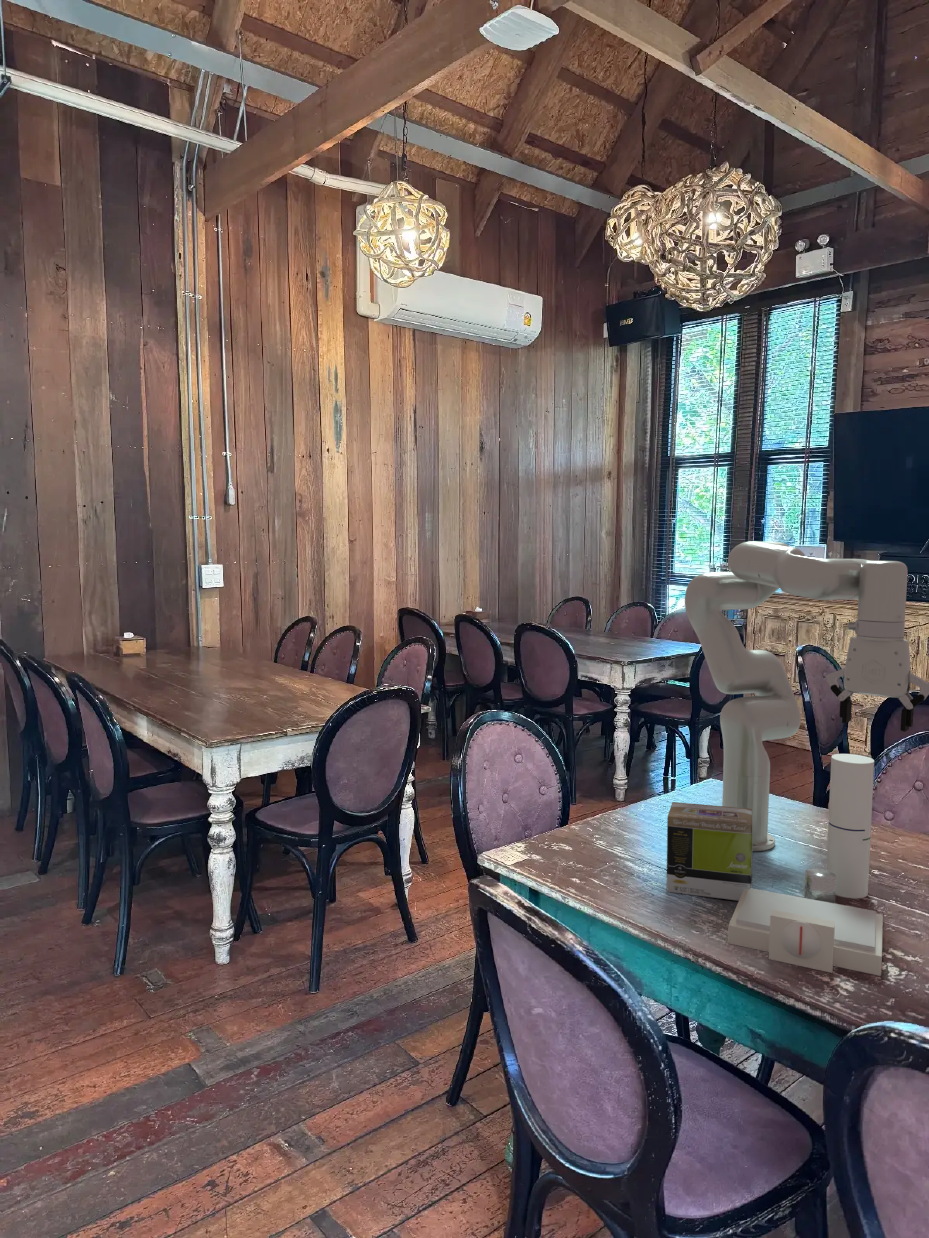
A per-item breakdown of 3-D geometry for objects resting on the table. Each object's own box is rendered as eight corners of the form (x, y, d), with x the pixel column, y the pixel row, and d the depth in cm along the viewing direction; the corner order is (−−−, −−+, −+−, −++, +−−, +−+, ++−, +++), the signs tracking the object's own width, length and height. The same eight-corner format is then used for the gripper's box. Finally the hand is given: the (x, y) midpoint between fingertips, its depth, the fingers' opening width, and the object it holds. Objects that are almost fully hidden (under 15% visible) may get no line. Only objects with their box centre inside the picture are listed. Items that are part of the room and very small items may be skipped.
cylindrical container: (818, 883, 157) (823, 754, 155) (854, 881, 158) (860, 753, 156) (838, 898, 150) (844, 763, 148) (875, 897, 151) (882, 763, 149)
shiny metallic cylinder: (802, 909, 146) (804, 876, 146) (805, 898, 150) (806, 866, 150) (833, 914, 144) (835, 881, 143) (835, 903, 148) (836, 871, 148)
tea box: (751, 883, 157) (753, 807, 156) (751, 904, 148) (754, 824, 146) (669, 872, 162) (672, 799, 161) (664, 892, 153) (667, 814, 151)
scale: (724, 951, 130) (726, 908, 130) (743, 905, 147) (744, 867, 147) (880, 985, 120) (883, 938, 120) (881, 932, 137) (883, 891, 137)
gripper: (822, 628, 149) (817, 722, 150) (930, 636, 138) (924, 737, 139) (835, 625, 155) (830, 716, 156) (940, 632, 143) (934, 730, 145)
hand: (875, 726), depth 148 cm, fingers open, 9 cm apart
